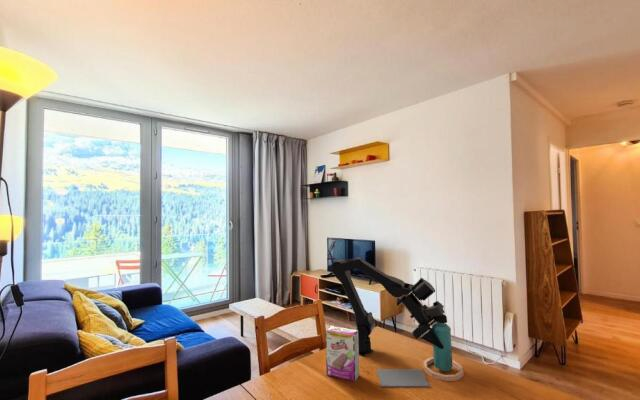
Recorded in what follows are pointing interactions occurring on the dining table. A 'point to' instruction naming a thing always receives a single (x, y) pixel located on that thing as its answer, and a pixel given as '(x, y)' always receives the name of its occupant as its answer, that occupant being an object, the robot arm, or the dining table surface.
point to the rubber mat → (402, 378)
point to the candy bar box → (342, 353)
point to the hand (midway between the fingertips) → (445, 345)
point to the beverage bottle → (444, 335)
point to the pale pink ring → (441, 376)
